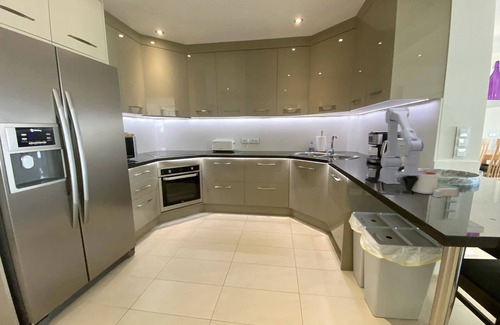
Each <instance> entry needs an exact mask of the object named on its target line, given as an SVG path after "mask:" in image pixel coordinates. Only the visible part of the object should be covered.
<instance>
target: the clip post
mask: <svg viewBox="0 0 500 325" xmlns="http://www.w3.org/2000/svg"><path fill="white" fill-rule="evenodd" d="M433 196H434V198H436V197H441V198H442V197H443V196H442V191H439V190H433V194H432V197H433Z"/></svg>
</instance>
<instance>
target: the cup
mask: <svg viewBox="0 0 500 325" xmlns="http://www.w3.org/2000/svg"><path fill="white" fill-rule="evenodd" d="M418 172H425V173H427V174H426V175H425V174H420V175H418V176H417V177H418V180H417V181H416V183H415V184H414V186H413V188H412V190H411V191H413V192H415V193H418V194H424V195H431V194H432V195H433V190H436V186H437V181H438V178H439V174H438V173H437V172H434V171H433V172H432V171H426V170H425V171H424V170H418Z"/></svg>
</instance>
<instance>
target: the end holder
mask: <svg viewBox="0 0 500 325" xmlns="http://www.w3.org/2000/svg"><path fill="white" fill-rule="evenodd" d="M436 190H439V191H442V197H459V196H460V191H461V190H460V187H459V186H455V185H452V184H448V183H445V182H441V181H439V180H437V186H436Z"/></svg>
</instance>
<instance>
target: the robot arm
mask: <svg viewBox="0 0 500 325" xmlns="http://www.w3.org/2000/svg"><path fill="white" fill-rule="evenodd" d="M409 116H410V109H409V108H408V107H407V106H406V107H389V108H387V109H386V111H385V120H384V121H385V123H386V124H387V139H386V140H387V142H386V144H387V147H386V148H387V149H386V151H385V152H384V153H383V154H381V159H380V165H381V167H382V168H381V169H380V171H379V179H378V181H379V182H381V183H384V184H387V185H400V184H401V182H399V181H398V178H401V177H402V180H403V182H404V184H405V188H406V189H405V190H406V191H408V192H411V191H413V190H412V188H413V186H414V184H415V183H416V181H417V180H418V177H417V176H418V175H420V174H425V175H426V174H427V173H425V172H418V171H419V165H420V155H421V152H423V150H424V147H425V146H424V145H425V144H424V141H423V140H422V139H420V138H418V135H417V133H416V130H415V129H414V128H412V127H411V125H410V121H409ZM399 126H400V128H401V130H402V131H401V132H400V134H401V137H402V140H403V142H404V144H403V150H404V151H403V152H404V156H405V158H404V161H403V157H402V154H401V153H400V152H398V136H399V134H398V133H399ZM403 162H404V163H403ZM403 164H404V165H403ZM402 166H404V167H403V171H399V169H401V167H402Z"/></svg>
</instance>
